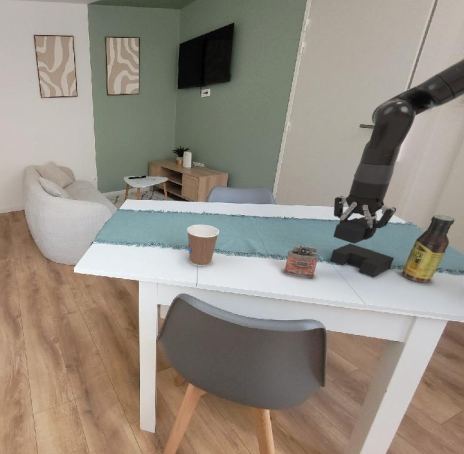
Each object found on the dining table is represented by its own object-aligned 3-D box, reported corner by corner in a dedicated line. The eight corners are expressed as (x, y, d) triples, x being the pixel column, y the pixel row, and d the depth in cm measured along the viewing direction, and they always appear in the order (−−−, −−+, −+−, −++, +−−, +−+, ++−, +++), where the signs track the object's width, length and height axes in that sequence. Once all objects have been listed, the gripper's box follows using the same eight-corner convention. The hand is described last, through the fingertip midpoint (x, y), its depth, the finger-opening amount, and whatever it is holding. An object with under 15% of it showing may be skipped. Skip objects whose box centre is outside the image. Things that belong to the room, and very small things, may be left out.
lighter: (283, 274, 92) (290, 246, 88) (283, 269, 95) (289, 242, 91) (314, 279, 89) (322, 251, 85) (312, 274, 91) (320, 246, 88)
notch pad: (389, 268, 92) (394, 257, 91) (373, 277, 88) (377, 266, 87) (346, 253, 102) (350, 243, 101) (330, 260, 98) (333, 250, 97)
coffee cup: (189, 252, 109) (191, 222, 104) (218, 257, 104) (221, 227, 99) (181, 264, 101) (183, 233, 96) (212, 271, 96) (215, 238, 91)
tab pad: (378, 233, 87) (382, 221, 85) (354, 243, 82) (358, 231, 80) (356, 227, 91) (360, 216, 90) (333, 236, 87) (336, 224, 85)
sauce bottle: (397, 270, 91) (421, 211, 83) (424, 274, 88) (452, 213, 80) (406, 281, 86) (432, 219, 78) (435, 286, 83) (465, 222, 75)
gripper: (413, 182, 75) (390, 241, 82) (349, 172, 87) (334, 224, 94) (398, 187, 72) (376, 247, 79) (334, 176, 84) (320, 229, 91)
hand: (353, 234), depth 86 cm, fingers closed on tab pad, 5 cm apart
